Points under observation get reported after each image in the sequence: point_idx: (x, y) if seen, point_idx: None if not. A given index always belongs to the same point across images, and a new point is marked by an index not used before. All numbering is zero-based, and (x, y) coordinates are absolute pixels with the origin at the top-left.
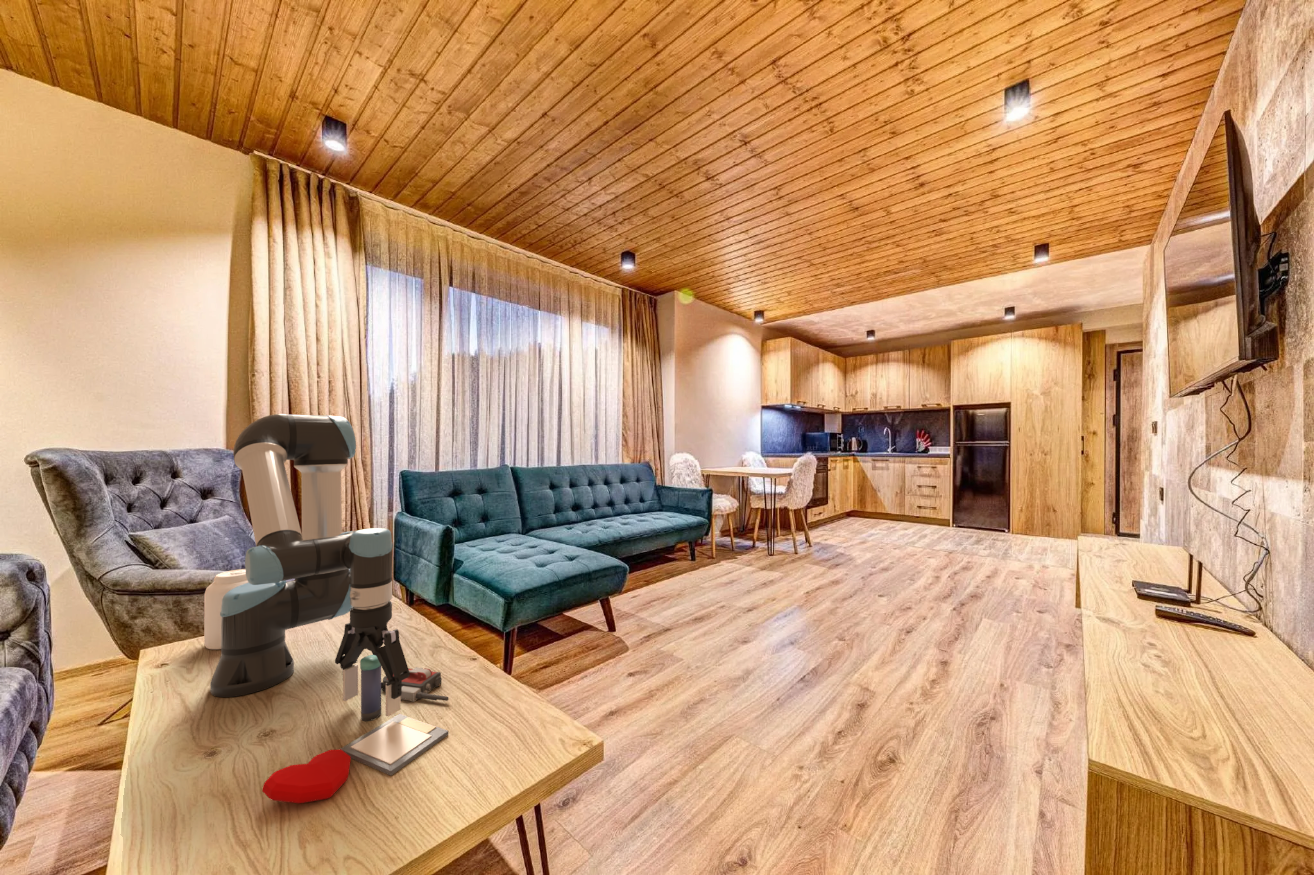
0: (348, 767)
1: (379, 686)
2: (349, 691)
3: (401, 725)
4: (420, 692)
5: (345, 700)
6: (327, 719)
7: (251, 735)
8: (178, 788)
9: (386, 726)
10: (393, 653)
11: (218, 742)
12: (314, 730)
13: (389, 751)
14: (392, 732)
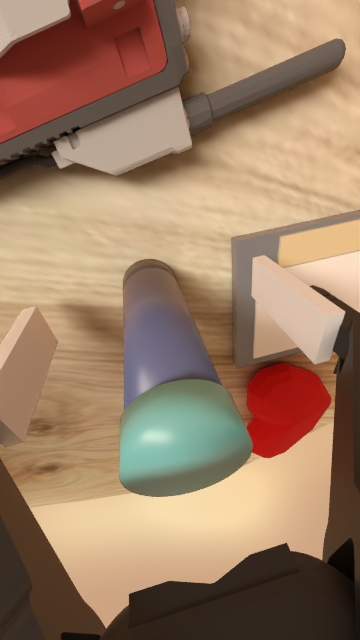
0: (312, 377)
1: (193, 321)
2: (43, 348)
3: (295, 268)
4: (202, 111)
5: (56, 342)
6: (71, 354)
7: (25, 441)
8: (119, 477)
9: None
10: None
11: (12, 467)
12: (103, 377)
13: None
14: None
